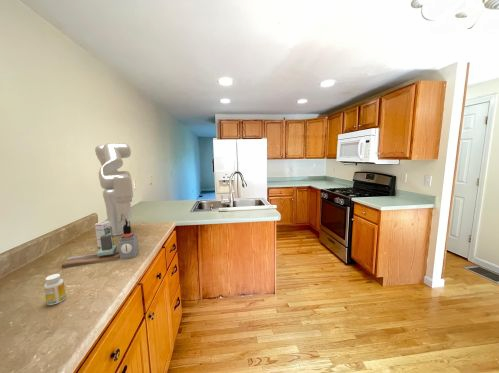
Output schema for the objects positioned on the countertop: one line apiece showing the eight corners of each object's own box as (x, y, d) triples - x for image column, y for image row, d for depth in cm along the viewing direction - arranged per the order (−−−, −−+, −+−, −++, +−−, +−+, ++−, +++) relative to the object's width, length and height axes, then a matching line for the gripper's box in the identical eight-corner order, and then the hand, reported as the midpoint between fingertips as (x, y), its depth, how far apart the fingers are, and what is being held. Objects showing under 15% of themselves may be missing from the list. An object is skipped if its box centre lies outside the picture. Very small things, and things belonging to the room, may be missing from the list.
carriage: (102, 249, 115) (100, 234, 114) (117, 247, 117) (115, 232, 116) (97, 256, 107) (95, 239, 106) (113, 253, 110) (111, 237, 108)
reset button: (124, 236, 116) (123, 232, 115) (133, 235, 117) (132, 231, 117) (122, 239, 112) (121, 235, 111) (131, 238, 113) (131, 233, 113)
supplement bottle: (48, 307, 76) (43, 282, 74) (45, 301, 79) (41, 277, 78) (67, 299, 80) (63, 275, 78) (64, 294, 83) (60, 271, 82)
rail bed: (71, 258, 112) (70, 253, 111) (123, 251, 119) (123, 246, 119) (61, 268, 102) (61, 263, 102) (119, 259, 110) (118, 254, 110)
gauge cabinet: (124, 251, 119) (122, 233, 118) (138, 249, 122) (136, 232, 120) (119, 260, 109) (117, 241, 108) (135, 257, 112) (133, 239, 110)
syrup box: (106, 247, 124) (103, 223, 122) (97, 247, 126) (94, 223, 123) (114, 243, 130) (111, 220, 128) (105, 243, 131) (102, 220, 129)
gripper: (119, 197, 117) (122, 229, 120) (111, 203, 103) (115, 239, 106) (134, 196, 119) (137, 228, 122) (128, 201, 105) (132, 237, 108)
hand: (127, 233), depth 114 cm, fingers closed
